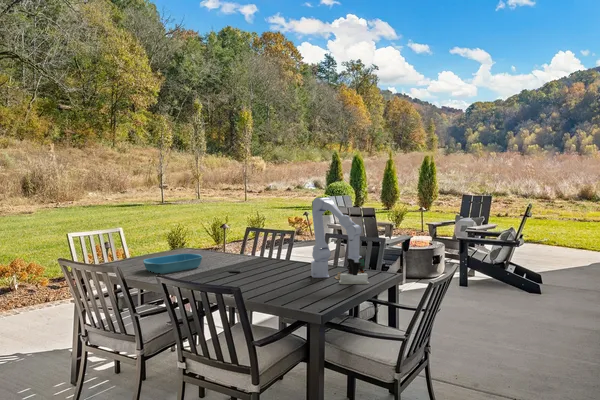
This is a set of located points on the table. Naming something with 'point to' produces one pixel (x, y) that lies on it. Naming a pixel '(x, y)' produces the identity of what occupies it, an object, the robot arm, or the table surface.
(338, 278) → the rack
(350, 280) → the rail
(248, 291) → the table surface
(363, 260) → the binoculars
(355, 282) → the mat
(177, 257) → the casserole dish
